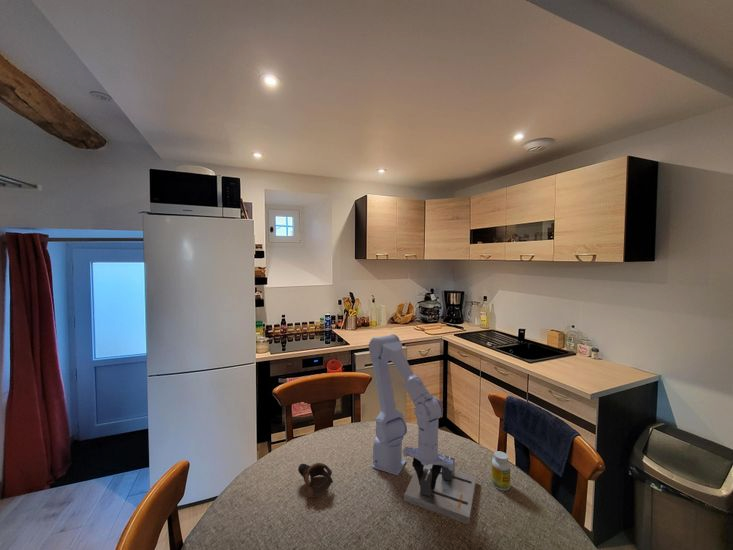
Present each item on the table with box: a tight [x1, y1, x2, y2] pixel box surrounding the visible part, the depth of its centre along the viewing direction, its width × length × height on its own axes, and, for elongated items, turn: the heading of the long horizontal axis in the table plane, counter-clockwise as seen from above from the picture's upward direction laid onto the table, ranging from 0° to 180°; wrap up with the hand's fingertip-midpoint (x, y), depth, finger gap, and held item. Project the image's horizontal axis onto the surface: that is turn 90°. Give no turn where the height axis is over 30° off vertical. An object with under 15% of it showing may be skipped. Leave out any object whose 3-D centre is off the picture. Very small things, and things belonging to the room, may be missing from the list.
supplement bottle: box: [491, 450, 511, 491], centre depth 92 cm, size 5×5×10 cm
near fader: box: [420, 469, 432, 496], centre depth 87 cm, size 3×5×4 cm, turn 154°
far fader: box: [442, 455, 456, 481], centre depth 94 cm, size 3×5×4 cm, turn 154°
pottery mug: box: [297, 462, 334, 499], centre depth 91 cm, size 12×10×8 cm
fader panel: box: [403, 464, 477, 525], centre depth 90 cm, size 18×17×2 cm
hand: (427, 485), depth 87 cm, fingers closed on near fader, 3 cm apart
